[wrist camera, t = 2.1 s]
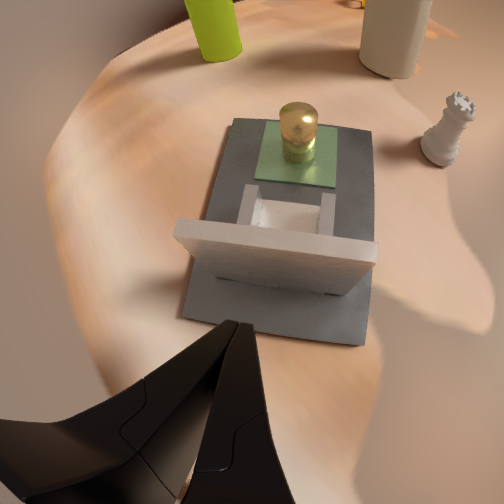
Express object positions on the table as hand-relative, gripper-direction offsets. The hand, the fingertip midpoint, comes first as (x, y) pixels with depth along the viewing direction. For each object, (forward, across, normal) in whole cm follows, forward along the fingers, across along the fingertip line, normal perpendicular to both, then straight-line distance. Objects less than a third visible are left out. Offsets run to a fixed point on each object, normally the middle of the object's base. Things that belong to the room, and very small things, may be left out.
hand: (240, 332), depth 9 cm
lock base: (+17, 0, +2) cm, 17 cm away
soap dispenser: (+35, +13, -16) cm, 41 cm away
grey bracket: (+14, 0, +4) cm, 14 cm away
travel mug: (+35, -11, -16) cm, 40 cm away
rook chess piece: (+24, -15, -5) cm, 29 cm away
